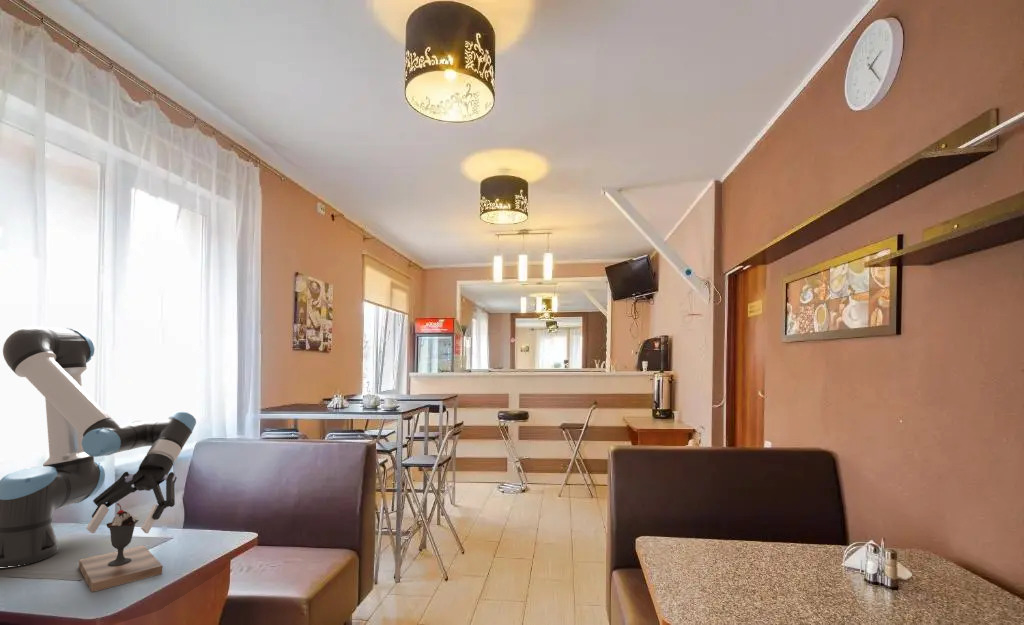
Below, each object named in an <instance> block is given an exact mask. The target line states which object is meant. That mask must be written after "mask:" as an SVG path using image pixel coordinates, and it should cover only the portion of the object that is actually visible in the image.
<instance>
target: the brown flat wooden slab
mask: <svg viewBox="0 0 1024 625" xmlns="http://www.w3.org/2000/svg"><path fill="white" fill-rule="evenodd" d="M117 555H118V550H117V551H113V552H112V551H111V552H107V553H104V554H98V555H95V556H94V555H93V556H90V557H86V558H82V559H79V561H78V569H79V571H80V572H81V574H82V576H83V578H84V581H85V582H86V583H87V585H88V586H87V587H90V588H89V589H90V591H91V592H92V593H94V592H93V591H95V592H98V591H101V590H105V589H109V588H114V587H117V586H121V585H124V584H125V585H126V584H128V583H132V582H133V583H134V582H135V581H136V582H137V581H140V580H143V579H147V578H151V576H152V577H155V576H158V575H162V574H163V567H164V566H163V564H162V563H161V562H160V561H159V560H158V559H157V558H156V557H155V555H154V554H152V553H151V551H150V550H149V549H148V548H147V547H146V546H145V545H140V546H139V545H138V546H135V547H130V548H126V549H125V548H124V550H123V556H124V557H125V558H131V559H132V560H131V561H130V562H129V563H127V564H124V565H120V566H108V563H109V562H111V561H113V560H115V559H116V558H117Z"/></svg>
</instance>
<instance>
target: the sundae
mask: <svg viewBox="0 0 1024 625" xmlns="http://www.w3.org/2000/svg"><path fill="white" fill-rule="evenodd" d="M116 505H117V506H118V507H119V508H120V510H118V511H117V513H116V515H115V517H113V519H112V521H111V522H109V523H106V527H107V528H108V529H109V533H110V541H111V546H112V547H113V548H114V549H115V550H116V549H117V551H118V555H117V558H116V559H115V560H113V561H111V562H109V563H108V566H120V565H124V564H127V563H129V562H130V561H131V560H132V559H131V558H125V557H124V556H123V550H125V548H126V547H128V546H129V544H131V542H132V539H133V535H134V531H135V530H134V529H135V526H136V524H137V523H138V522H139V519H135V518H133V516H132V515H131V513H129V512H128V511H124V509H122V506H121V504H120V502H119V503H117V502H116Z"/></svg>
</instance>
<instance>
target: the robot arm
mask: <svg viewBox="0 0 1024 625" xmlns="http://www.w3.org/2000/svg"><path fill="white" fill-rule="evenodd" d="M94 355H95V344H94V341H93V339H92V338H91V337H90V335H88V333H86V332H84V331H82V330H78V329H74V328H69V327H64V328H63V327H43V326H28V327H23V328H19V329H18V330H16V331H14V332H13V333H11V334H10V335H9V336H8V337H7V338H6V339H5V342H3V346H2V356H3V358H4V361H5V362H6V364H7V367H9V368H10V370H11V371H12V372H13V373H14V374H15V375H16V376H17V377H19V378H25V379H27V380H28V381H29V383H30V384H31V385H32V386H34V388H36V390H37V391H38V393H40V394H41V395H42V396H43V397H44V398H45V399H44V400H45V411H46V425H47V426H46V428H47V441H48V442H47V443H48V452H49V454H48V455H49V457H48V458H47V459H46V460H45V462H44V463H42V464H43V466H33V467H30V468H24V469H19V470H17V471H16V470H15V471H13V472H11V473H8V474H6V475H5V476H3V477H2V478H1V479H0V567H8V566H18V565H23V566H25V565H24V564H27V565H30V564H29V563H31V564H33V562H35V563H38V562H41V561H44V560H46V559H48V558H51V557H53V556H54V555H56V554H57V553H58V548H59V543H58V542H59V541H58V539H57V537H56V533H55V531H54V528H53V525H52V524H53V513H54V511H55V510H58V509H61V508H64V507H67V506H70V505H73V504H80V503H82V502H83V501H86V500H88V499H90V498H92V497H93V496H95V495H96V494H97V493H98V492H99V491H100V490H101V488H102V487H103V485H104V482H105V479H106V478H105V477H106V473H105V469H104V467H103V465H101V463H100V462H98V461H96V460H95V458H97V457H104V456H106V457H107V456H111V455H114V454H116V453H121V452H125V451H129V450H134V449H139V448H144V447H150V448H149V449H148V450H147V453H146V455H145V456H144V458H143V459H142V461H141V463H140V464H139V466H138V469H137V471H136V472H135V473H129V472H128V471H125V472H124V473H123V474H121V476H120V477H119V479H117V480H116V481H114V483H112V484H111V485H110V486H109V487H107V488H106V489H105V490H104V491H103V492H101V493H100V494H99V495H98V496H96V497H95V498H94V499H93V500H92V502H93V503H94V504H95V506H96V508H95V510H94V512H93V513H92V514H91V520H90V522H89V523H88V524H87V526H86V530H88V532H89V533H91V534H95V533H96V532H97V530H98V529H99V527H100V525H101V523H102V522H103V520H104V519H105V517H106V515H107V514H108V513H109V511H110V509H109V507H111V506H113V505H114V504H117V502H119V501H121V500H122V499H123V498H125V497H127V496H128V495H130V494H131V493H132V494H133V493H135V492H137V491H148V492H149V491H151V490H152V491H153V495H154V496H155V499H156V503H157V504H153V505H152V508H151V509H150V511H149V513H148V514H147V517H146V518H145V520H144V522H143V523H142V525H141V527H140V529H141V530H142V531H143V533H145V534H149V533H150V530H151V529H152V527H153V525H154V523H155V522H156V521H157V520H159V519H160V518H161V516H162V514H163V512H164V511H165V509H167V508H168V507H171V508H173V507H174V506H175V504H176V500H175V499H176V498H175V497H176V496H175V494H176V493H175V483H176V481H177V479H178V478H177V476H176V474H175V473H174V472H173V471H171V470H172V468H173V466H174V464H175V462H176V461H177V459H178V457H179V455H180V453H181V452H182V450H183V448H184V446H185V445H186V443H187V442H188V440H189V438H190V437H191V435H192V433H193V431H194V429H195V426H196V425H197V419H196V418H195V416H194V415H192V414H191V413H189V412H185V411H180V410H179V411H178V410H177V411H176V412H173V413H171V414H170V416H169V417H168V419H162V420H145V421H142V420H137V421H129V422H126V423H125V424H118V423H117V422H116V421H115V420H114V419H113V418H112V417H111V416H110V415H109V414H108V413H107V412H106V411H105V410H104V409H103V408H102V407H101V406H100V405H99V404H98V403H97V402H96V401H95V400H94V399H93V398H92V397H91V395H89V394H88V392H86V391H85V389H83V387H82V386H83V384H82V374H83V373H84V372H85V371H86V370H87V363H89V362H90V361H91V360H92V357H94ZM163 482H165V497H164V495H163V492H162V489H161V487H160V484H162V483H163ZM132 485H133V486H132ZM43 559H44V560H43ZM40 560H41V561H40ZM37 561H38V562H37ZM18 567H19V566H18Z"/></svg>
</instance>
